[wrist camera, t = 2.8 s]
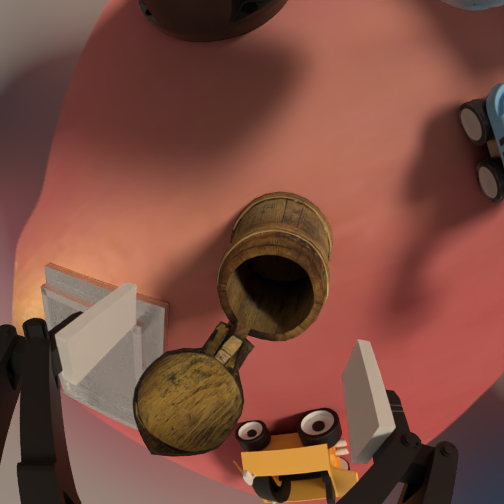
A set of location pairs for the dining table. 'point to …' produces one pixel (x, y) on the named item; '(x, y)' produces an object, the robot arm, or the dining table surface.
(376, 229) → the dining table surface
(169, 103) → the dining table surface
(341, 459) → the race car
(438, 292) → the dining table surface
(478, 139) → the toy excavator
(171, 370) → the wooden mug
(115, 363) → the mug bay
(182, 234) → the dining table surface
